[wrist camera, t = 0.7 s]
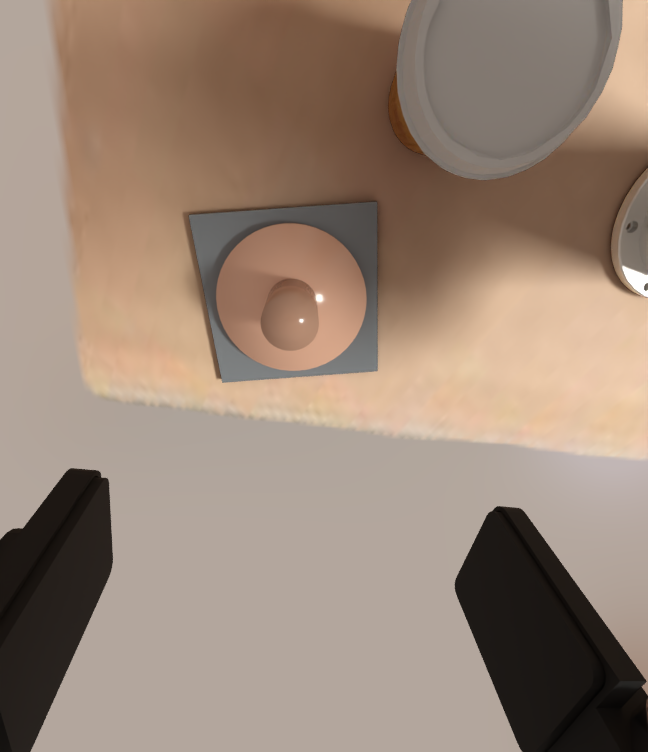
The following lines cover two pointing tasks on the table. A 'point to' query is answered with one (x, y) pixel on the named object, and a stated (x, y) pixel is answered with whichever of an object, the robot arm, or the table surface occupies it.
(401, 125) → the disposable coffee cup
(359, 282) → the lid
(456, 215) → the table surface
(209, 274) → the mat
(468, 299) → the table surface
